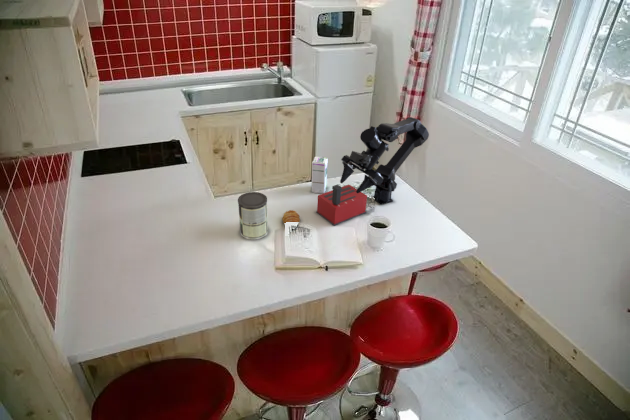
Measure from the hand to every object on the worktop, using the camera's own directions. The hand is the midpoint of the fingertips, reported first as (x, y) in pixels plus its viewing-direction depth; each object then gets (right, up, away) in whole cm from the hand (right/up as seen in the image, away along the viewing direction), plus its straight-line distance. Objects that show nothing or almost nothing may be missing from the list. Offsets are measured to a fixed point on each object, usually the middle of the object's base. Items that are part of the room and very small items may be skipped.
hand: (348, 187), depth 166 cm
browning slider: (-5, -6, 0) cm, 8 cm away
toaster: (-2, -10, +9) cm, 14 cm away
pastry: (-22, -14, +2) cm, 26 cm away
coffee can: (-35, -17, -4) cm, 39 cm away
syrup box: (-11, 0, +25) cm, 27 cm away
